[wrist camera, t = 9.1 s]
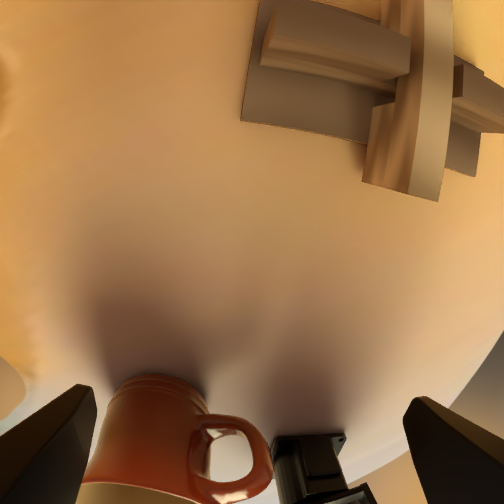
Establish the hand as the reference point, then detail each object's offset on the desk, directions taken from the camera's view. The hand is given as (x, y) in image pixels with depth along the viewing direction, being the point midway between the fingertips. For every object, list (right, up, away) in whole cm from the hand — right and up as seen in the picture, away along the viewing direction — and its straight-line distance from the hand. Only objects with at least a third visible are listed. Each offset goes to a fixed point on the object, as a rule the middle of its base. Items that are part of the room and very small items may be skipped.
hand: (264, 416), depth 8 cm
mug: (-6, -6, +14) cm, 17 cm away
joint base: (+7, +14, +9) cm, 18 cm away
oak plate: (+8, +14, +8) cm, 18 cm away
